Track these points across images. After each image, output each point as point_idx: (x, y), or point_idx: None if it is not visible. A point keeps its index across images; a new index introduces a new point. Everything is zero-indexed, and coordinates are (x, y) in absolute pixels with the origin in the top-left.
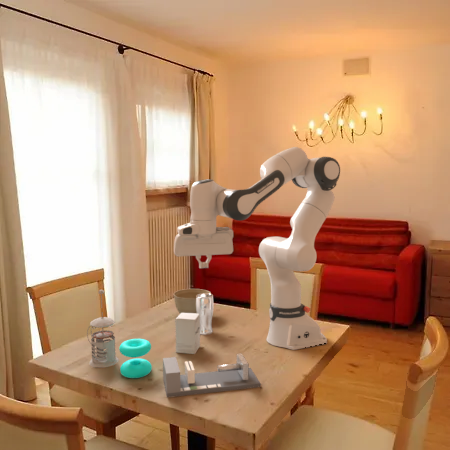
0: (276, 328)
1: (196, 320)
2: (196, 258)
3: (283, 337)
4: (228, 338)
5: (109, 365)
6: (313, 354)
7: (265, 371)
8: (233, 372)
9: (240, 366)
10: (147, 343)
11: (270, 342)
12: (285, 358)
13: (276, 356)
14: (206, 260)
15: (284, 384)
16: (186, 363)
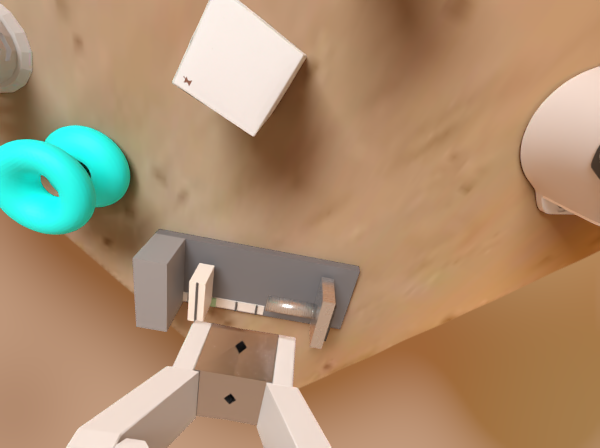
0: (569, 174)
1: (267, 117)
2: (95, 427)
3: (554, 192)
4: (437, 20)
5: (10, 90)
6: (558, 251)
7: (388, 278)
8: (312, 275)
9: (314, 319)
10: (73, 212)
11: (524, 145)
12: (478, 242)
13: (468, 224)
14: (276, 407)
15: (386, 331)
16: (191, 290)
